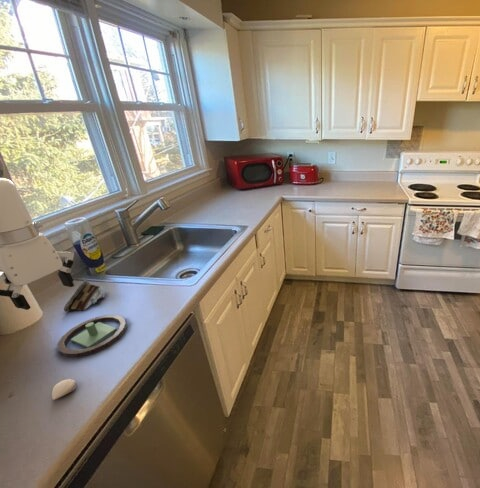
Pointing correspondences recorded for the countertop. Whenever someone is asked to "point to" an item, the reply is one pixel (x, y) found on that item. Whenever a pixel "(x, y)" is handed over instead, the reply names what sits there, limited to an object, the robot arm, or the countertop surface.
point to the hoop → (96, 348)
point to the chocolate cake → (84, 296)
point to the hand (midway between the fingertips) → (48, 296)
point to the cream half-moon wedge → (63, 388)
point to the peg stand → (93, 334)
